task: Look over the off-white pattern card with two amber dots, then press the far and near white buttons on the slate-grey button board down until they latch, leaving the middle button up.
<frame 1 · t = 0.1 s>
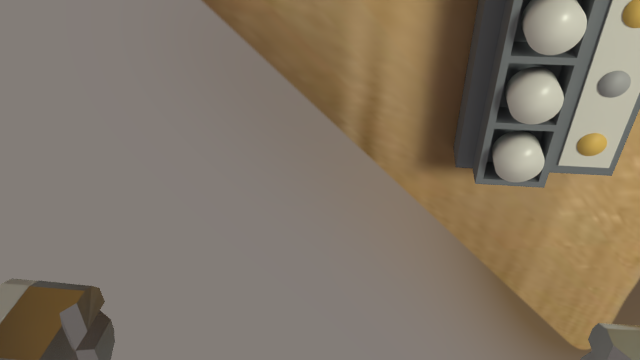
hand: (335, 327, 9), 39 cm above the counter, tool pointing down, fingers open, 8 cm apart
pattern board: (551, 63, 47), on the counter
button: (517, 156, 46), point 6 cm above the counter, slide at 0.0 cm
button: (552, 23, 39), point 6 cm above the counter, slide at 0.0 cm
middle button: (533, 95, 43), point 6 cm above the counter, slide at 0.0 cm
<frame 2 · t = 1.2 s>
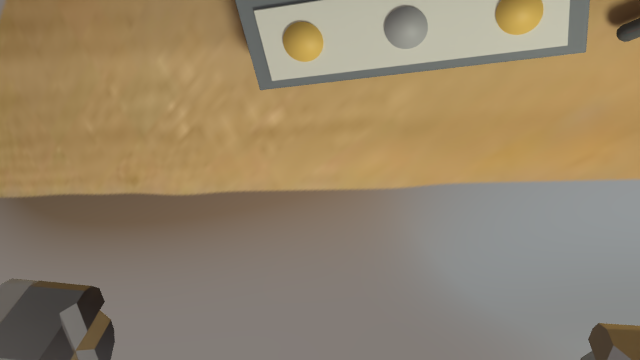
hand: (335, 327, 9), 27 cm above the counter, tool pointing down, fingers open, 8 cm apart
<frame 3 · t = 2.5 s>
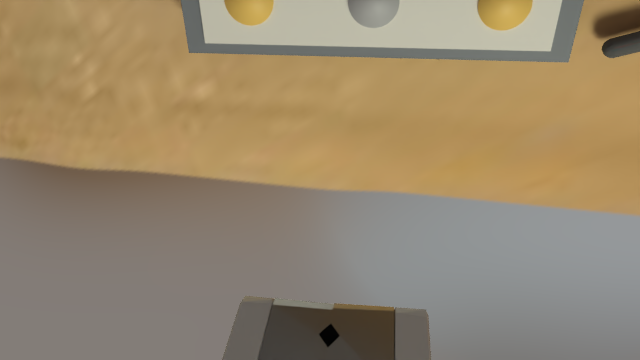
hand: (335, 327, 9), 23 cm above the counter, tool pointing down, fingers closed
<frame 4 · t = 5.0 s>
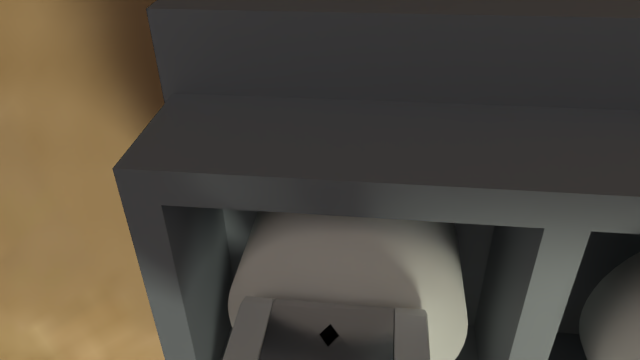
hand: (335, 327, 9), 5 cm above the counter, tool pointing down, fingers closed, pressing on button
pattern board: (589, 249, 14), on the counter
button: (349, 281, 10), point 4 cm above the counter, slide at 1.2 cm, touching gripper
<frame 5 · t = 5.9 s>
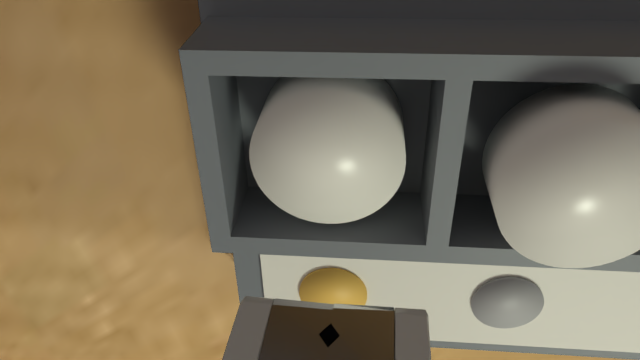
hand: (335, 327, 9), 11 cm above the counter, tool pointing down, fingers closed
pattern board: (509, 149, 19), on the counter
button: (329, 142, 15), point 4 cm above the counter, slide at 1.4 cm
middle button: (574, 177, 13), point 6 cm above the counter, slide at 0.0 cm
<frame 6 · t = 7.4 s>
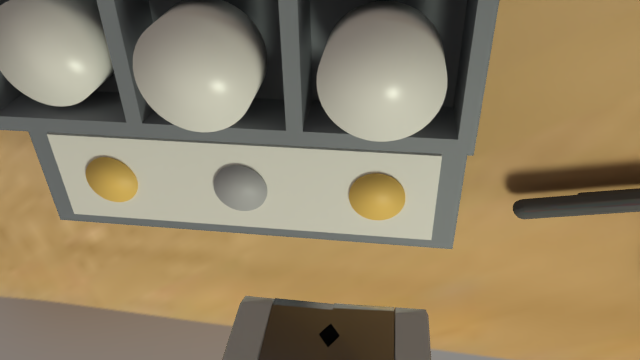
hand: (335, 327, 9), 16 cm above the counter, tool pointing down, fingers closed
pattern board: (249, 69, 24), on the counter
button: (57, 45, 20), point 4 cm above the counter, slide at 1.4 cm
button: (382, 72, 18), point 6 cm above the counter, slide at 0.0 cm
middle button: (202, 65, 18), point 6 cm above the counter, slide at 0.0 cm
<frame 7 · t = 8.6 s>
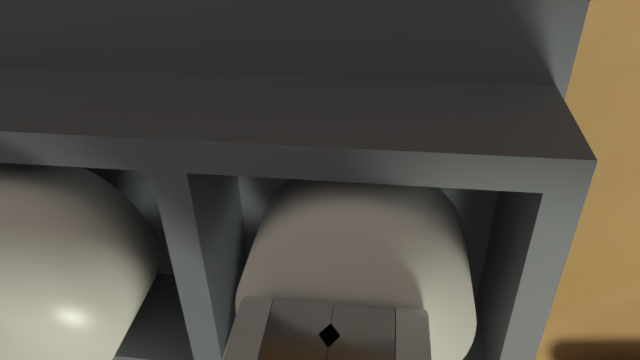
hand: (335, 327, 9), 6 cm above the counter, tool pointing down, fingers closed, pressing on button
pattern board: (166, 203, 16), on the counter
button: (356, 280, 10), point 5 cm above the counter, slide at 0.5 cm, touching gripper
middle button: (35, 273, 10), point 6 cm above the counter, slide at 0.0 cm
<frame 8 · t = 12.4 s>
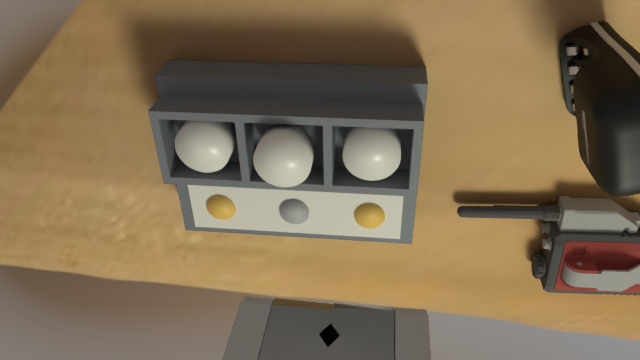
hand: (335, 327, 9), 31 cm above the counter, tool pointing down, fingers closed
pattern board: (298, 145, 44), on the counter
walkie-talkie: (573, 233, 46), on the counter
battery charger: (578, 69, 38), on the counter
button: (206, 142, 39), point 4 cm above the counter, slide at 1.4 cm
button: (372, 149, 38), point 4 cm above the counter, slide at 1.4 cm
middle button: (284, 155, 38), point 6 cm above the counter, slide at 0.0 cm
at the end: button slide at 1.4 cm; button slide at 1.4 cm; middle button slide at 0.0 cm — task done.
